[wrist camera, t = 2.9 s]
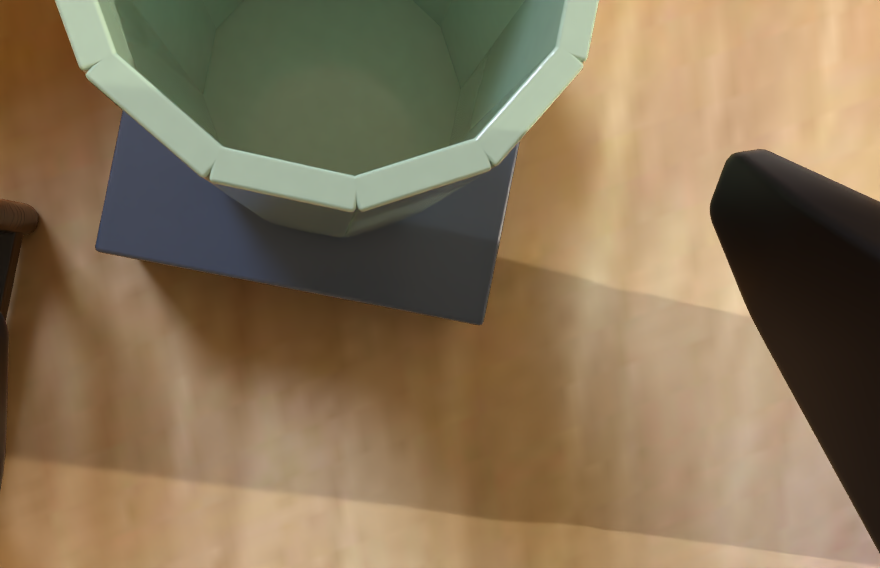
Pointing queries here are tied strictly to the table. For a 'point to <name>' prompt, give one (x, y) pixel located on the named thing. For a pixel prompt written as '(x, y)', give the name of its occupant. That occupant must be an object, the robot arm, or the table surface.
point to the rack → (12, 243)
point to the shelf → (305, 237)
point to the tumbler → (333, 93)
